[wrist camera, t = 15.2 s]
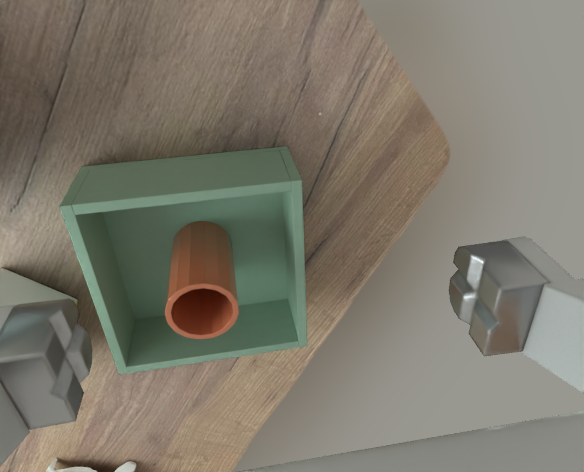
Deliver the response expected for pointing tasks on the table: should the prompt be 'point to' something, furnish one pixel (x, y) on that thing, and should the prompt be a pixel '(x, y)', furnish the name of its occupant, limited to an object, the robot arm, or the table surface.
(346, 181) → the table surface
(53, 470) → the white faceted figurine
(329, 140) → the table surface
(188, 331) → the cup
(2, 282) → the medicine bottle
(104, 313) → the open box
